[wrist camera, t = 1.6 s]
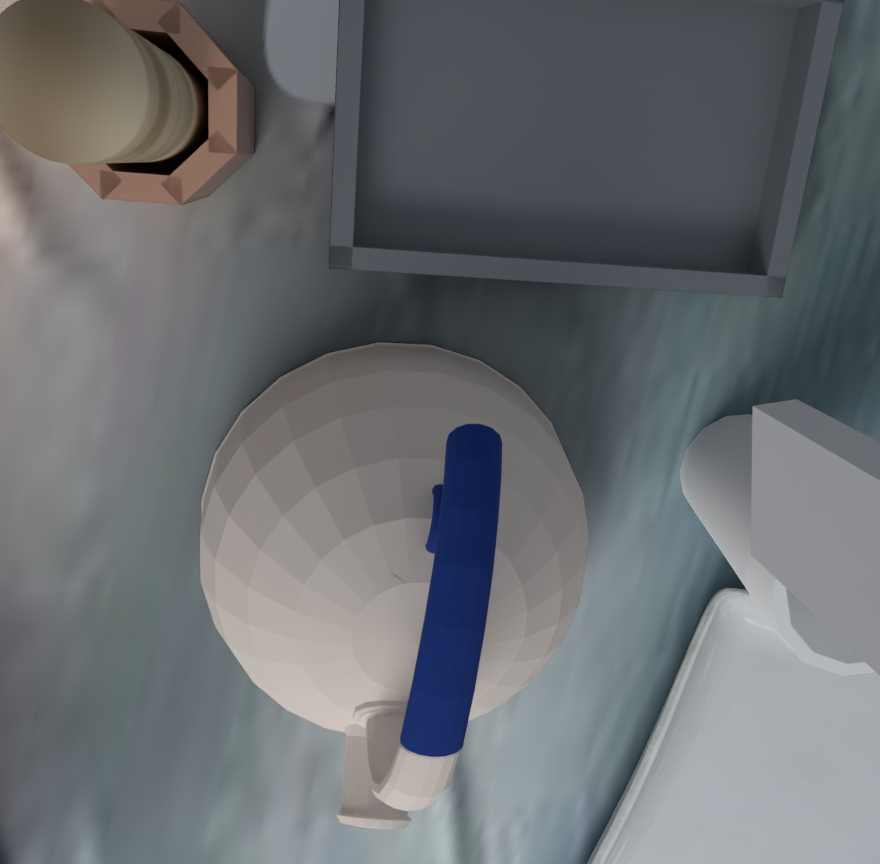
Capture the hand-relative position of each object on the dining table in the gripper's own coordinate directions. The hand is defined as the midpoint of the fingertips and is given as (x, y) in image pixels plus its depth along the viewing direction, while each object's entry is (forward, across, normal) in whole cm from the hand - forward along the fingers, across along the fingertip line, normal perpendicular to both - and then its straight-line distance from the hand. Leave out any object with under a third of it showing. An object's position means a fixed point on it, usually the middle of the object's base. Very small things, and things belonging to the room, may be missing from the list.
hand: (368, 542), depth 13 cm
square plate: (+29, +25, -36) cm, 53 cm away
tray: (+29, +12, +6) cm, 32 cm away
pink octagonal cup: (+29, -6, +8) cm, 31 cm away
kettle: (+29, +1, -13) cm, 32 cm away
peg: (+28, -6, +8) cm, 30 cm away
